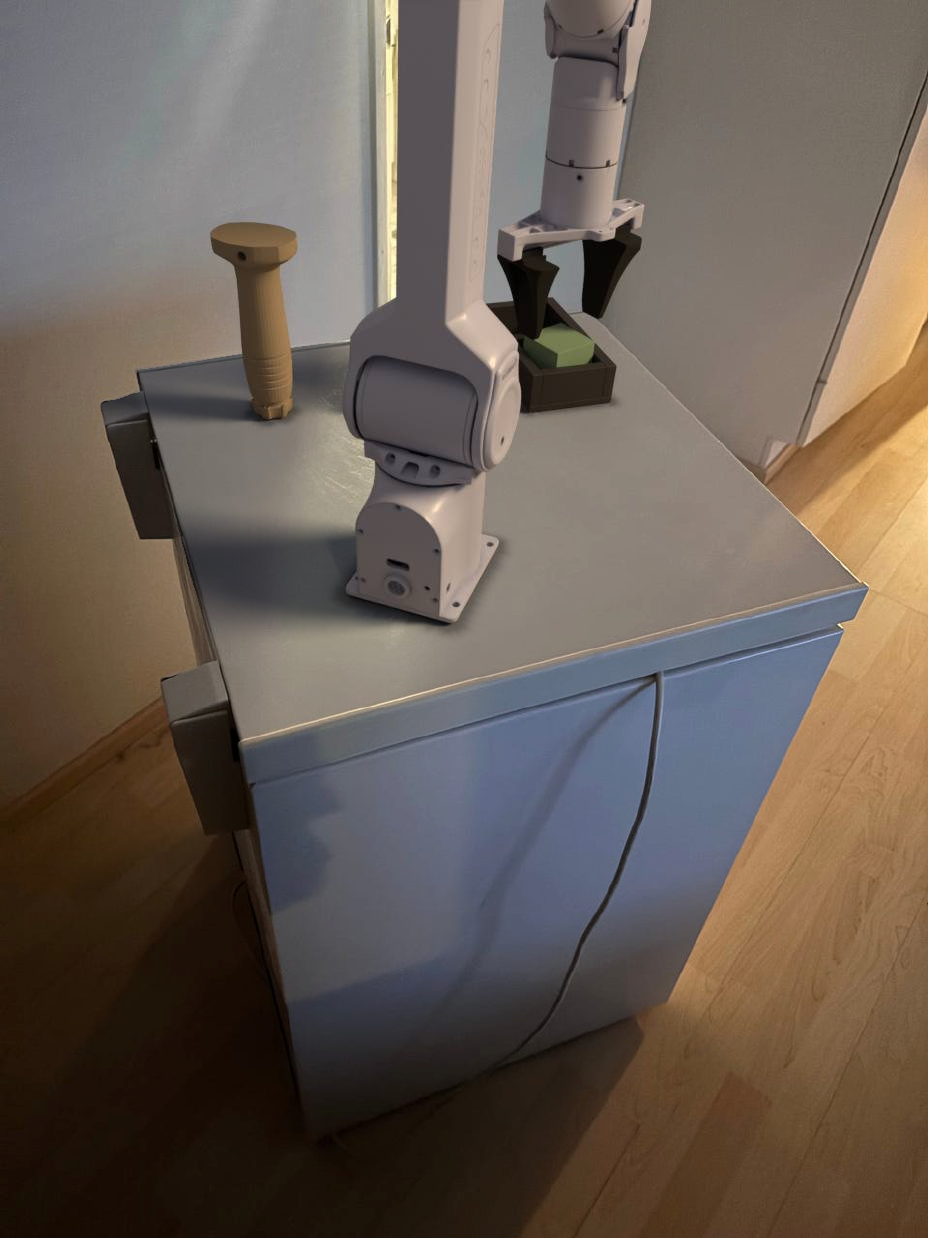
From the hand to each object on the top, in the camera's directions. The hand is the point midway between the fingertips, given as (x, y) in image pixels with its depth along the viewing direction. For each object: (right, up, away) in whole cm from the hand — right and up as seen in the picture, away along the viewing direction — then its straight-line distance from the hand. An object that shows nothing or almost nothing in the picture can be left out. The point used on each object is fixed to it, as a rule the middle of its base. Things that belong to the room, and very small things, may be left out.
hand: (561, 324), depth 79 cm
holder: (-1, -2, +7) cm, 7 cm away
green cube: (0, -4, +4) cm, 5 cm away
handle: (-25, -8, -1) cm, 26 cm away
